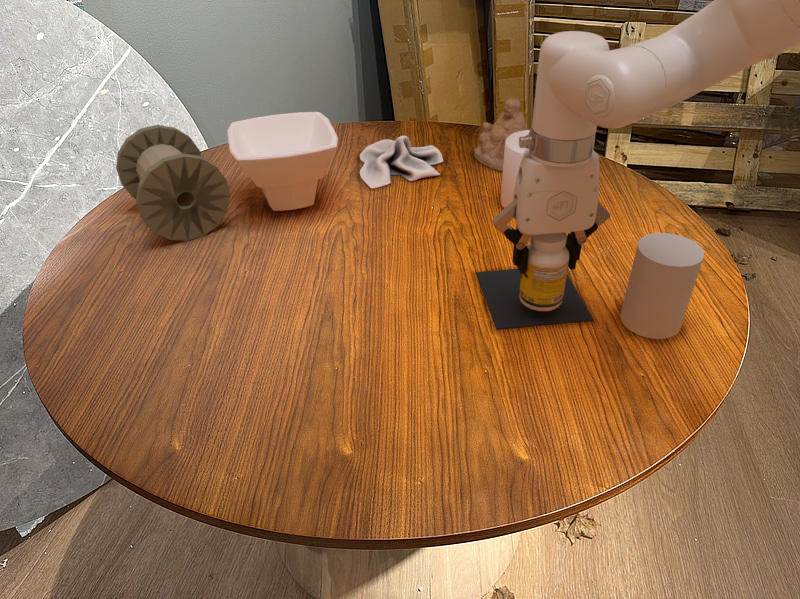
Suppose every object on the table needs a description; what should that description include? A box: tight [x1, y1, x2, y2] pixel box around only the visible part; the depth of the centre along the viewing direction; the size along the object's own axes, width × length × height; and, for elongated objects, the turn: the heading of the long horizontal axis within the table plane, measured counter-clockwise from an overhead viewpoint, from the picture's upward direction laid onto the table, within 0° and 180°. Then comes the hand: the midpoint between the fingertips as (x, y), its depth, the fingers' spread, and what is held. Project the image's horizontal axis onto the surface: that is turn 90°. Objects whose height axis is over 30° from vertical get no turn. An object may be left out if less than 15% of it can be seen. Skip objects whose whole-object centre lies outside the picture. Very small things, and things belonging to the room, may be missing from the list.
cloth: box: [359, 135, 444, 190], centre depth 128 cm, size 22×19×6 cm
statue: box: [473, 97, 527, 172], centre depth 129 cm, size 12×14×10 cm
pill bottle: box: [519, 232, 570, 311], centre depth 86 cm, size 6×6×11 cm
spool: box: [115, 124, 231, 242], centre depth 110 cm, size 16×15×15 cm
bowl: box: [226, 111, 339, 212], centre depth 114 cm, size 19×19×14 cm
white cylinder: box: [500, 129, 530, 209], centre depth 112 cm, size 12×12×12 cm
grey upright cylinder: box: [620, 232, 705, 340], centre depth 84 cm, size 8×8×12 cm
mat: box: [475, 268, 594, 330], centre depth 93 cm, size 14×14×1 cm
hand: (544, 265), depth 85 cm, fingers closed on pill bottle, 6 cm apart
